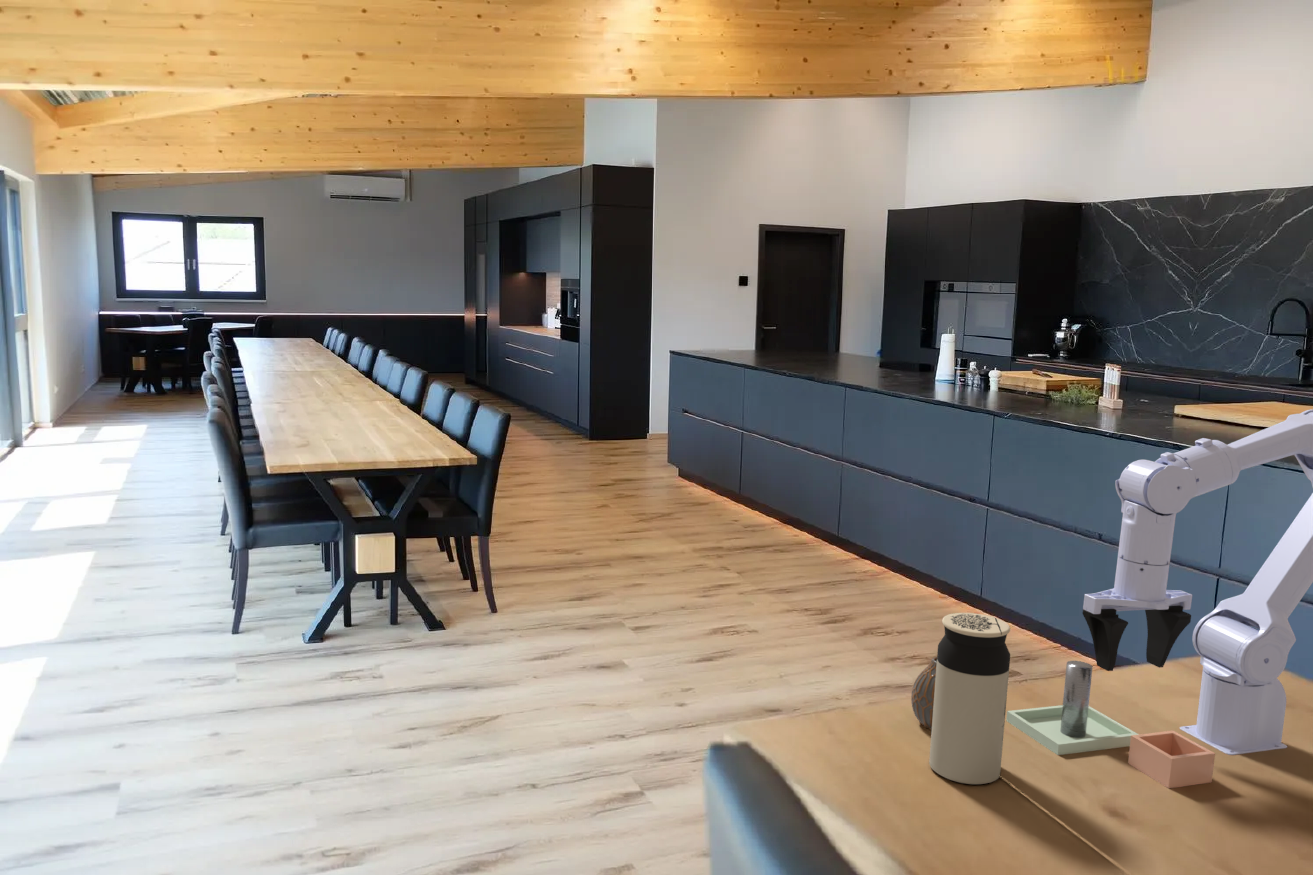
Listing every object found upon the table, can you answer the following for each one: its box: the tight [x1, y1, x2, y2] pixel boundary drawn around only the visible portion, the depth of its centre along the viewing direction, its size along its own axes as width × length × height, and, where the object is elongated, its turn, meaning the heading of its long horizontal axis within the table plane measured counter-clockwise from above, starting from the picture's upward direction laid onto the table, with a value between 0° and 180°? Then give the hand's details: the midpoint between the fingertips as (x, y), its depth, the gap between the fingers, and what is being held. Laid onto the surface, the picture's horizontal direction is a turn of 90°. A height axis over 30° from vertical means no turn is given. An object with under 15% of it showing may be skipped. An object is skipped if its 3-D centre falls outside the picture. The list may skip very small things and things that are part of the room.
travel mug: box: [928, 612, 1011, 786], centre depth 116 cm, size 8×8×18 cm
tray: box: [1005, 704, 1140, 756], centre depth 127 cm, size 12×10×2 cm
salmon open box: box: [1127, 729, 1216, 789], centre depth 117 cm, size 6×6×4 cm
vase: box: [911, 656, 937, 730], centre depth 129 cm, size 7×7×9 cm
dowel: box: [1060, 660, 1093, 738], centre depth 126 cm, size 3×3×9 cm
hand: (1130, 666), depth 124 cm, fingers open, 7 cm apart
